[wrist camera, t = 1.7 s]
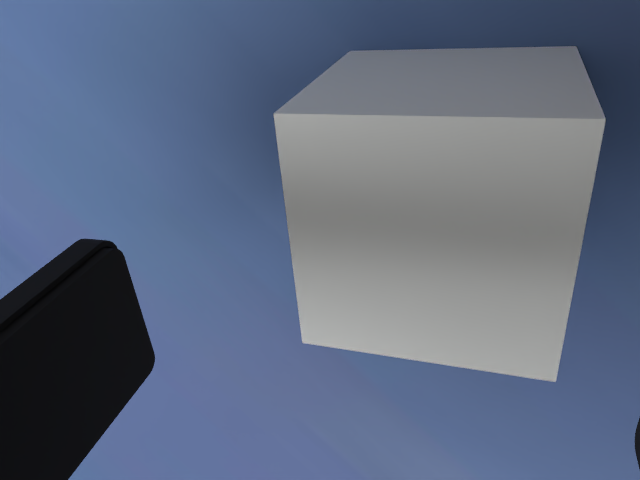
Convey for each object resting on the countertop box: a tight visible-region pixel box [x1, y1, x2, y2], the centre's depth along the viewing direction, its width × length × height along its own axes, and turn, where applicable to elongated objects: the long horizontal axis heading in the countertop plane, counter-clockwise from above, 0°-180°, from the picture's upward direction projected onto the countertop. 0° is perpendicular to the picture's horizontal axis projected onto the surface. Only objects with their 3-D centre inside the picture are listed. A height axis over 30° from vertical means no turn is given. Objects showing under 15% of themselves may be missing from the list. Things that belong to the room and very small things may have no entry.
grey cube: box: [274, 46, 606, 382], centre depth 14 cm, size 6×6×6 cm
